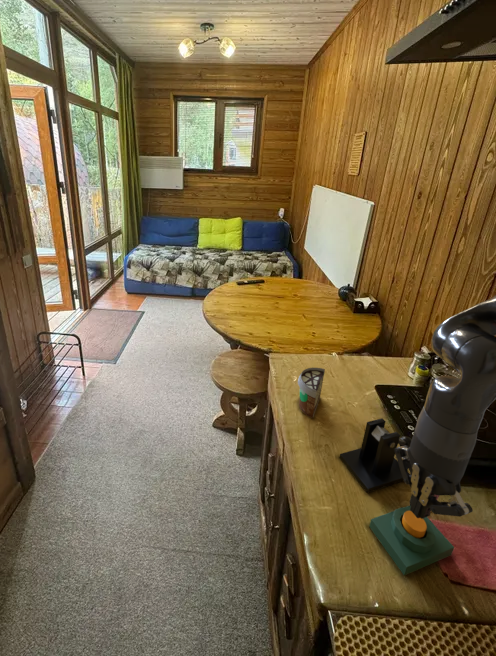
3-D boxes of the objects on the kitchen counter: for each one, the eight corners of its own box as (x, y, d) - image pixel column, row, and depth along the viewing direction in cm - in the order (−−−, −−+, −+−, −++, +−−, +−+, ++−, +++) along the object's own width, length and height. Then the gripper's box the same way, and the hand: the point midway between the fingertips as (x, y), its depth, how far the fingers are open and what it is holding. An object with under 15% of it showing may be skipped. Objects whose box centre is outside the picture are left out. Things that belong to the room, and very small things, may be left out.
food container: (301, 388, 98) (304, 361, 95) (320, 395, 95) (325, 368, 92) (289, 412, 88) (293, 383, 85) (311, 421, 85) (316, 392, 82)
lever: (400, 444, 75) (408, 434, 75) (412, 455, 72) (420, 445, 72) (368, 433, 70) (376, 422, 70) (379, 444, 67) (387, 433, 67)
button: (411, 514, 59) (414, 508, 59) (429, 535, 56) (431, 528, 55) (397, 520, 58) (399, 513, 58) (414, 541, 55) (416, 534, 54)
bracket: (378, 446, 78) (388, 408, 74) (410, 478, 70) (422, 438, 66) (339, 457, 75) (346, 418, 71) (366, 493, 67) (377, 451, 63)
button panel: (412, 510, 63) (417, 496, 62) (451, 555, 56) (457, 540, 55) (368, 526, 60) (372, 512, 59) (404, 575, 53) (409, 560, 52)
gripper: (505, 469, 45) (471, 547, 51) (423, 405, 57) (402, 474, 63) (468, 481, 43) (436, 562, 49) (391, 413, 55) (372, 484, 61)
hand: (417, 512), depth 56 cm, fingers closed
